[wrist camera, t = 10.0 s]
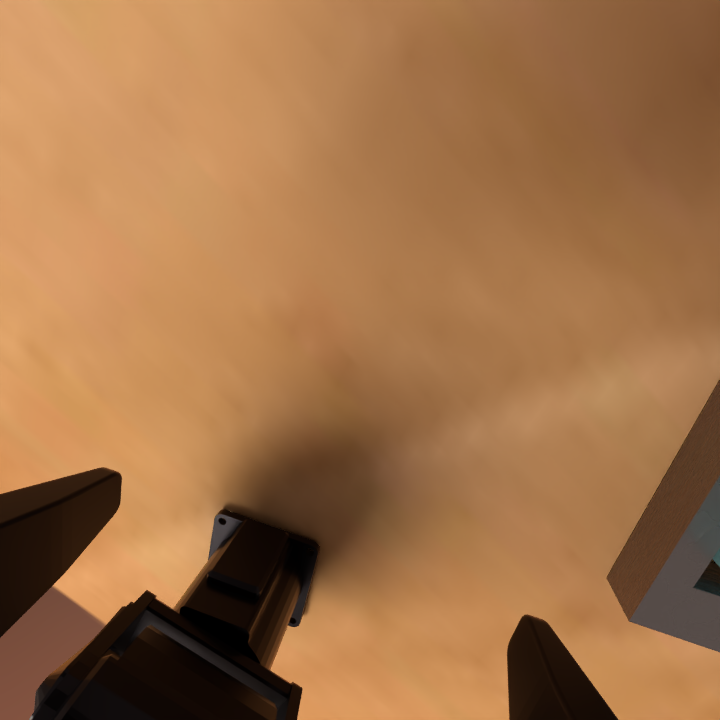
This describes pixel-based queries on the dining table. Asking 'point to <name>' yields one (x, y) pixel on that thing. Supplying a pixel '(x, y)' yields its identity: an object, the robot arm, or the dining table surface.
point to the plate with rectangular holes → (679, 544)
